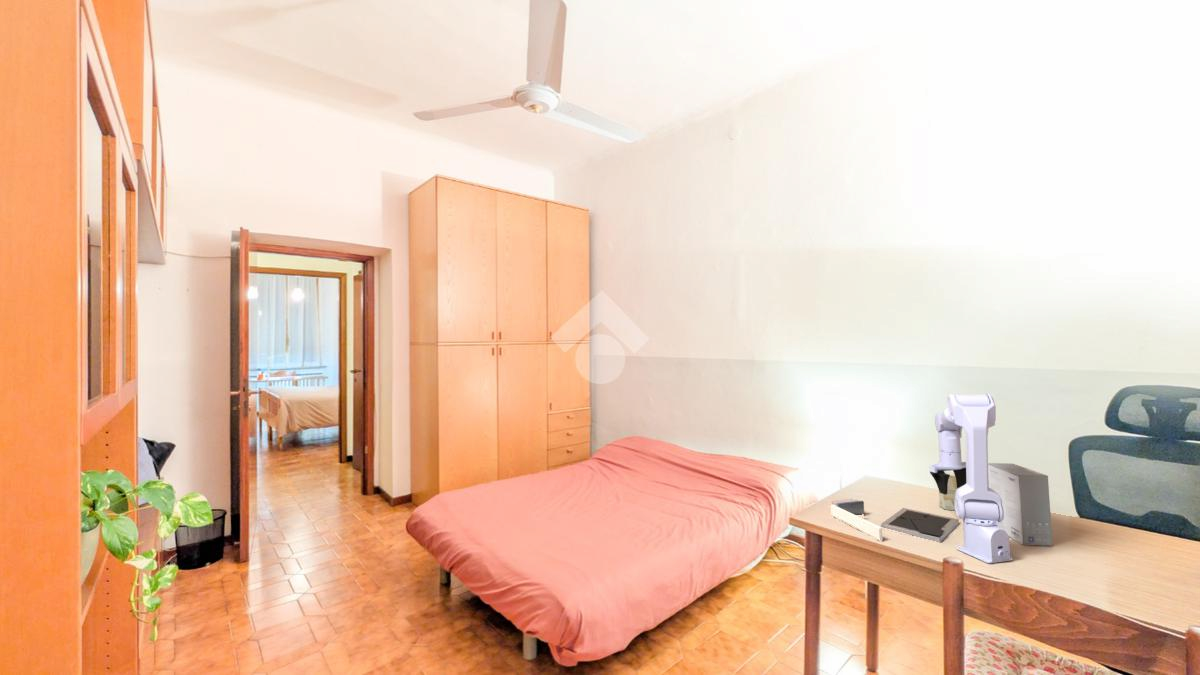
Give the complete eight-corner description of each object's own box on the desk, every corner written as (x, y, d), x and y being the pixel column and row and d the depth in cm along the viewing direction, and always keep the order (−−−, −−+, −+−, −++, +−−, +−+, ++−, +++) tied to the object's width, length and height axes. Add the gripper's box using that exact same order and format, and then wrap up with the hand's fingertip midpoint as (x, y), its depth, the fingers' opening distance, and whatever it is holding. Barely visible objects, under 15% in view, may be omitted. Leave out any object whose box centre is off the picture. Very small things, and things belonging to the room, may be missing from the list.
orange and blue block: (860, 515, 161) (859, 500, 161) (837, 518, 160) (837, 503, 160) (852, 511, 165) (852, 497, 165) (831, 514, 163) (830, 500, 163)
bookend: (869, 518, 158) (868, 503, 158) (843, 521, 156) (843, 506, 157) (862, 515, 161) (861, 500, 161) (837, 518, 160) (836, 503, 160)
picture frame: (940, 545, 138) (958, 525, 151) (939, 535, 138) (958, 516, 151) (881, 530, 150) (903, 513, 163) (880, 521, 150) (903, 505, 163)
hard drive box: (1054, 547, 132) (1049, 476, 132) (1022, 545, 133) (1018, 475, 134) (1017, 526, 147) (1013, 462, 148) (989, 525, 149) (985, 462, 149)
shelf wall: (882, 541, 140) (881, 527, 140) (879, 541, 140) (879, 528, 140) (833, 516, 162) (833, 504, 162) (831, 516, 161) (830, 504, 161)
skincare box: (944, 510, 163) (941, 474, 163) (939, 505, 167) (937, 471, 167) (965, 511, 161) (963, 475, 161) (960, 507, 165) (958, 472, 166)
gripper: (957, 446, 158) (959, 487, 158) (920, 450, 156) (922, 491, 155) (977, 451, 151) (980, 493, 151) (939, 454, 149) (941, 497, 149)
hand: (952, 492), depth 153 cm, fingers open, 6 cm apart
